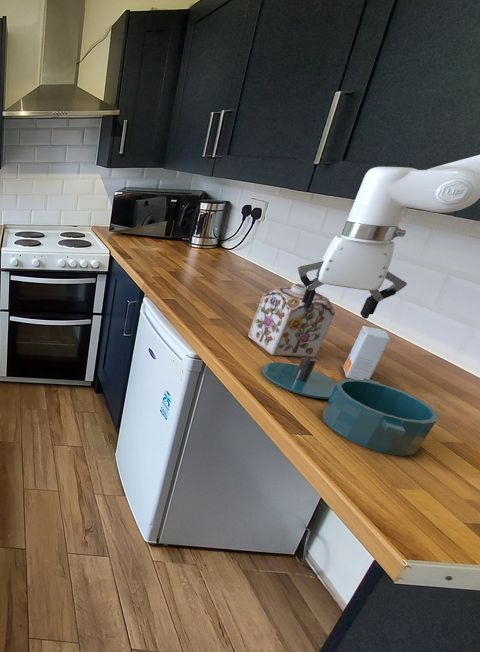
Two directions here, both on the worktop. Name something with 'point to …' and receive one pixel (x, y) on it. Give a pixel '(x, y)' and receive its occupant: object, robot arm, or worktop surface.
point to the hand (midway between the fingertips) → (334, 311)
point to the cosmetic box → (366, 353)
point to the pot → (379, 416)
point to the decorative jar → (291, 322)
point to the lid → (300, 378)
